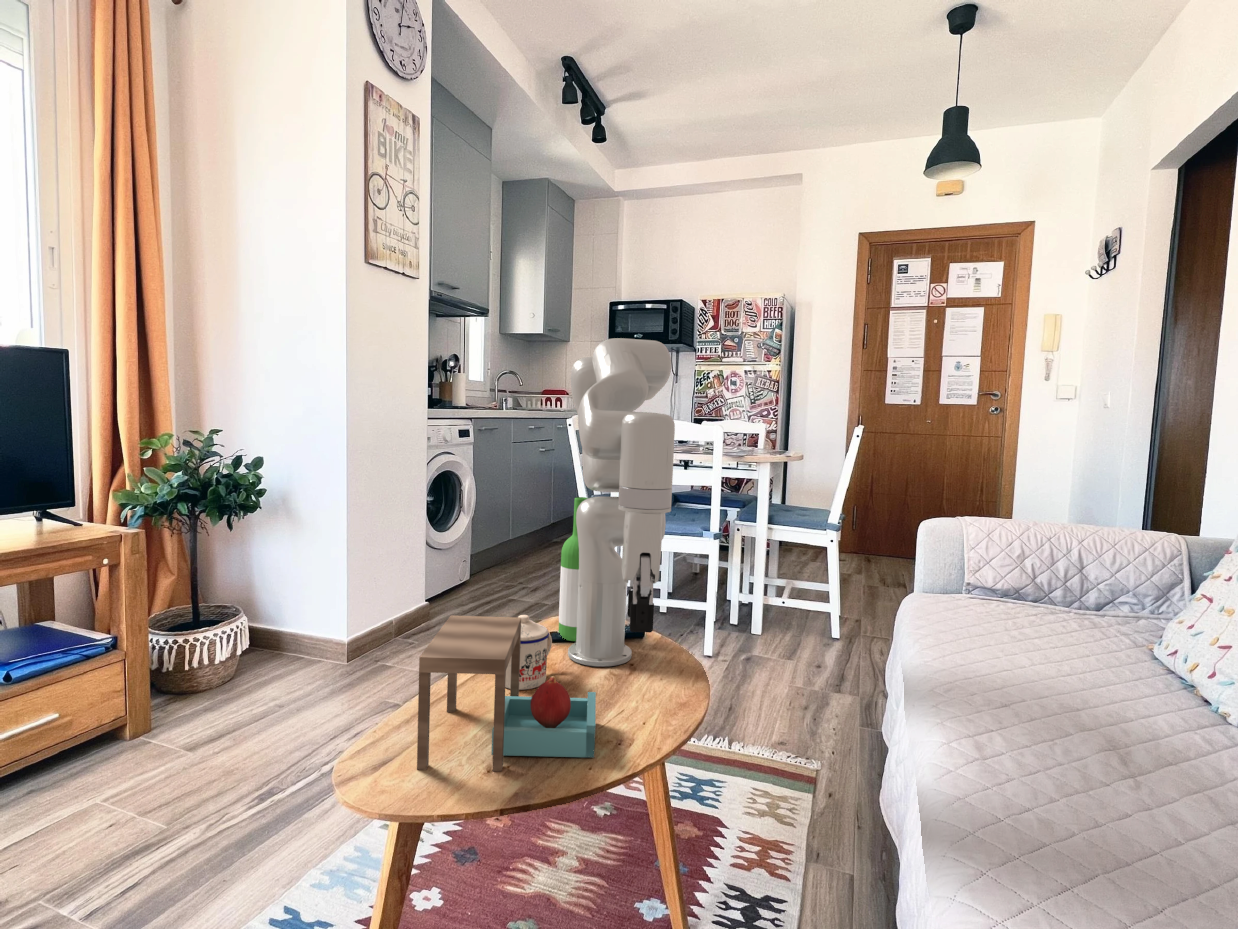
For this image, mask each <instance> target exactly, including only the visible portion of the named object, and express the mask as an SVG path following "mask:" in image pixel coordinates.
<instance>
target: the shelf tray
mask: <svg viewBox="0 0 1238 929" xmlns="http://www.w3.org/2000/svg"><path fill="white" fill-rule="evenodd" d="M596 695H597V692H596V691H587V697H570V700H571V708H570V713H569V715H568V716H567V718H566V719H565V720H564V721H563V722H562V723H561V724H559V725H558V726H557V727H556V728H545V727H543V726H542V725H541V724H539V723H538V722H537V721H536V720H535V718H534V717H533V715H532V712H531V699H532V696H520V695H519V696H510V695H507V696H506V695H505V716H504V748H503V756H513V757H514V756H517V757H520V756H521V757H555V758H556V757H557V758H558V757H561V758H564V757H565V758H595V745H596V716H597V715H596V711H597V710H596V707H597V706H596V704H597V702H596V700H597V699H596V698H597V696H596ZM491 730H492V731H491V756H493V734H494V726H492V729H491Z"/></svg>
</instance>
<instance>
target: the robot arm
mask: <svg viewBox="0 0 1238 929" xmlns="http://www.w3.org/2000/svg"><path fill="white" fill-rule="evenodd" d="M570 369H571V370H570V379H569V380H570V392H571V397H572V402H573V404H574V408H575V410H576V413H577V426H578V434H579V440H580V446H581V448H582V450H581V451H582V452H581V453H582V476H583V477H582V478H583V481H584V484H585V486H586V487H587V488H588V489H589V490H591V491H594V492H603V493H618V496H594V497H587V498H588V499H586V500H584V501H583V502H582V503H581V504H580V505H579V506H578V509H577V513H576V524H577V533H578V543H579V580H578V607H577V633H576V641H575V642H574V643H573V644H571V645H570V646H569V647H568V649H567V655H568V658H569V659H570V660H571V661H573V662H574V663H577V664H581V665H583V666H584V665H585V666H589V667H602V668H603V667H604V668H605V667H608V668H609V667H616V666H619V665H623V664H625V663H627V662H628V661H631V659H632V656H633V652H632V648H630V647H629V646H628V645H626V644H625V636H626V632H625V631H626V630H625V629H626V612H627V617H628V618H629V631H630V632H631V633H652V632H653V631H654V630H653V629H654V615H655V614H654V610H655V603H654V585H655V584H656V583H658V582H659V578H660V571H661V570H660V568H661V558H662V556H661V555H662V541H663V539H664V537H665V533H666V525H667V524H666V523H667V522H666V514H667V513H670V512H672V495H673V479H674V478H673V476H674V454H675V452H674V450H675V432H676V425H675V421H674V418H673V417H672V416H670V415H669V414H666V413H660V412H659V413H658V412H650V411H649V412H647V411H645V412H644V411H636V410H638V409H639V408H641V406H642V405H643V404H644V403H645V401H649V400H651V399H653V398H654V397H655V396H656V395H657V394H658V393H659V392H660V391H661V390H662V389H663V388H664V387H665V385H666V384H667V383H668V380H669V379H670V376H671V371H672V358H671V355H670V351H669V349H668V348H667V346H666V345H665V344H664V343H662V342H660V341H658V340H653V339H652V340H651V339H635V338H626V337H625V338H624V337H623V338H622V337H620V338H618V337H617V338H615V337H614V338H608V339H606V340H602V341H601V342H600V343H599V344H598V345H597V346H596V347H595V349H594V351H593V353H592V356H585V357H582V358H580V359H578V360H576V361H575V362H573V365H572V367H571V368H570ZM616 547H622V554H621V555H622V556H620V555H619V553H618V552H617V551H616V549H615V548H616ZM628 583H629V589H628V588H627V586H628V585H627V584H628ZM627 590H628V593H627ZM627 594H628V597H627ZM626 606H627V608H626ZM626 609H627V611H626Z"/></svg>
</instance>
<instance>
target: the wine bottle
mask: <svg viewBox="0 0 1238 929" xmlns="http://www.w3.org/2000/svg"><path fill="white" fill-rule="evenodd" d="M588 498H589V497H584V496H581V497H580V496H575V498H574V502H573V503H574V506H573V524H572V525H573V527H572V535H571V536H570V537H568V538H567V539H566V540H565V541H564V543H563V545H562V547H561V552H560V553H561V554H560V556H561V557H560V558H561V559H560V576H559V577H560V578H559V603H558V604H559V605H558V607H559V608H558V634H559V633H560V635H561V636H562V639H563V638H564V639H563V640H565V639H566V640H565V641H570V642H576V633H577V607H578V580H579V543H578V533H577V524H576V513H577V509H578V506H579V505H580V504H581V503H582V502H583V501H584V500H586V499H588ZM560 635H559V636H560ZM561 636H560V637H561Z"/></svg>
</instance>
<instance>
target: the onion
mask: <svg viewBox="0 0 1238 929" xmlns="http://www.w3.org/2000/svg"><path fill="white" fill-rule="evenodd" d="M531 697H532V699H531V712H532V715H533V717H534V718H535V720H536V721H537V722H538V723H539V724H541V725H542V726H543V727H545V728H556V727H557V726H558V725H559V724H561V723H562V722H563V721H564V720H565V719H566V718H567V716H568V715H569V713H570V708H571V700H570V698H571V696H570V693H569V692H568V690H567V689H566V688H565V687H564V685H562V684H561V683H560V682H558V681H557V680H556V676H554V675H553V676H550V677H549V678H548V679H546V680H545V682H544V683H543V684H541V685H540V686H538V687H536V689H535V692H534V693H533V695H532V696H531Z"/></svg>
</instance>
